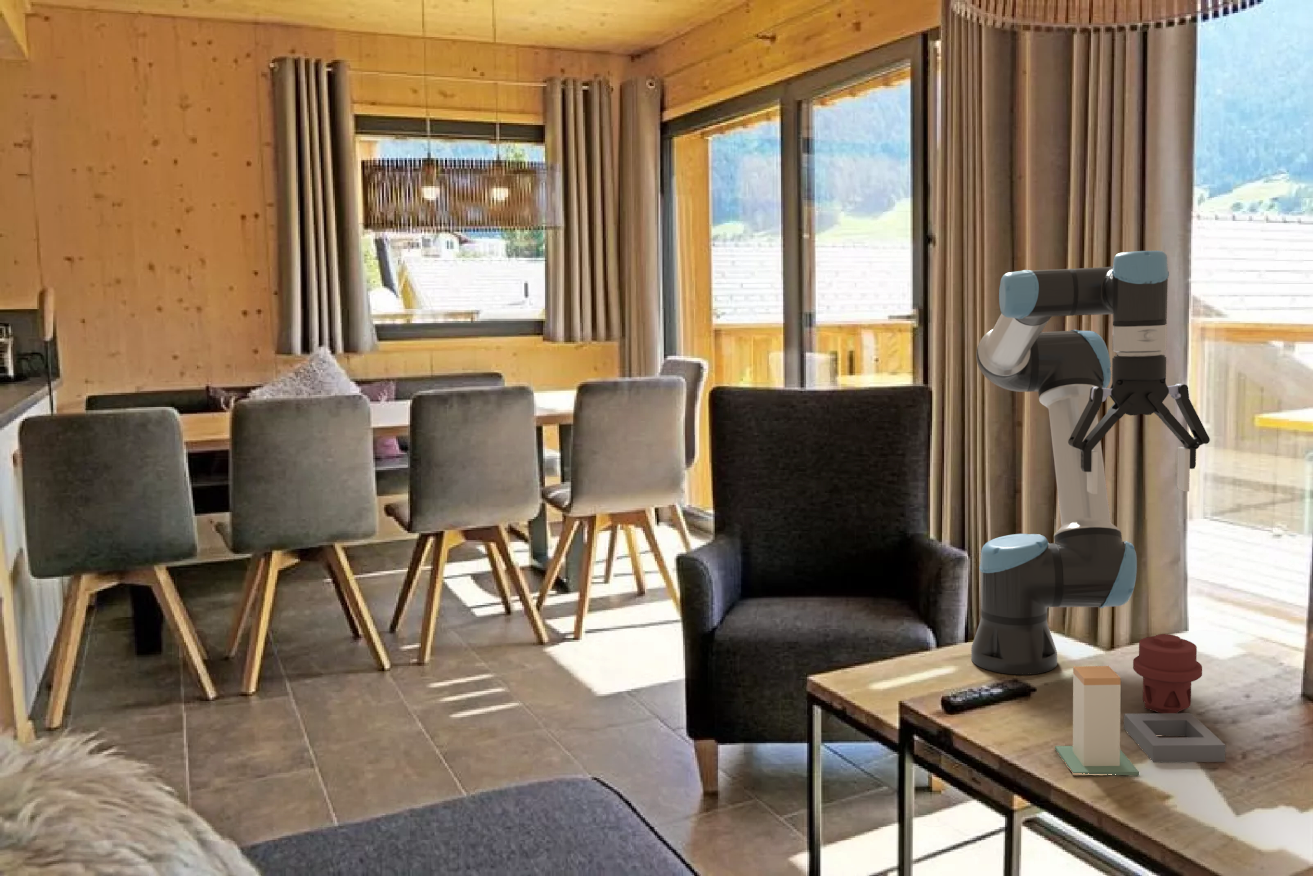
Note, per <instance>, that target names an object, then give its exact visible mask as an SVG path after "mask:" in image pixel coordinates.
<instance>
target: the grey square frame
mask: <svg viewBox="0 0 1313 876" xmlns="http://www.w3.org/2000/svg"><path fill="white" fill-rule="evenodd" d="M1124 729H1125V730H1126V731H1127V732H1128V733H1127V732H1126V731H1125V730H1124ZM1123 730H1124V731H1125V732H1126V733H1127V734H1128V736H1129V735H1130V736H1131V737H1132V738H1133V739H1134V740H1135V741H1136V742H1135V741H1134V740H1133V739H1132V738H1131V737H1130V736H1129V737H1130V738H1131V739H1132V740H1133V741H1134V742H1135V743H1137V744H1139V746H1140V747H1141V748H1140V747H1139V746H1138V747H1139V748H1140V749H1141V750H1142V749H1143V750H1142V751H1143V752H1145V753H1146V754H1147V755H1148V756H1147V755H1146V754H1145V753H1144V754H1145V755H1146V756H1147V757H1148V759H1150V758H1151V759H1150V760H1152V761H1153V762H1152V761H1151V762H1152V763H1205V762H1207V763H1210V762H1213V763H1214V762H1215V763H1220V762H1222V763H1223V762H1226V744H1225V743H1224V742H1223V741H1222V740H1221V739H1220V738H1218V736H1216V735H1215V733H1213V732H1212V731H1211V730H1210V729H1209V728H1208V727H1207V726H1206V725H1204V723H1202V722H1201V721H1200V720H1199V719H1198V718H1197V717H1196V716H1195V714H1192V713H1191V712H1187V713H1185V712H1181V713H1180V712H1177V713H1158V712H1155V713H1123ZM1156 735H1166V736H1165V737H1159V736H1156ZM1167 735H1168V736H1167ZM1169 735H1170V736H1169ZM1137 744H1136V745H1137Z"/></svg>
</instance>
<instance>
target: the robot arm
mask: <svg viewBox="0 0 1313 876" xmlns="http://www.w3.org/2000/svg"><path fill="white" fill-rule="evenodd" d="M1112 263H1113V265H1112V266H1102V267H1085V268H1084V267H1083V268H1082V267H1081V268H1062V269H1059V268H1058V269H1056V268H1055V269H1036V270H1035V269H1033V270H1032V269H1031V270H1030V269H1023V270H1018V271H1011V272H1010V271H1009V272H1006V273H1004V274H1003V275H1002V277H1001V279H1000V285H999V291H998V293H999V294H998V300H999V301H998V302H999V303H998V304H999V308H1000V309H999V310H1000V315H999V317H998V318H997V321H996V323H995V325H994V326H993V328H992V329H991V330H988V332H986V333H985V334H984V335H983V336H982V337H981V339H980V341H979V343H978V346H977V349H976V353H975V355H976V356H975V357H976V359H975V360H976V363H977V366H978V368H979V370H980V372H981V374H982V375H983V376H984V377H985V378H986V379H987V380H988V381H990V382H991V383H992V384H994V385H995V386H997V387H1000V388H1001V389H1003V390H1008V391H1012V392H1020V393H1021V392H1023V393H1024V392H1027V393H1028V392H1038V400H1039V403H1040V404H1041V405H1042V406H1044V407H1045V408H1046V409H1048V415H1049V425H1050V435H1051V443H1052V445H1051V446H1052V451H1053V453H1052V454H1053V460H1054V462H1053V463H1054V472H1055V481H1056V489H1057V498H1058V507H1059V515H1060V516H1059V517H1060V518H1059V519H1060V528H1059V529H1058V530H1057V531H1056V532H1055V533H1054V534H1053V540H1054V542H1052V543H1051V542H1050V543H1049V541H1048V539H1047V537H1045V536H1044V535H1043V534H1042V535H1041V534H1039V533H1038V534H1037V533H1030V534H1028V533H1015V534H1014V533H1013V534H1008V535H1003V536H999V537H996V538H993V539H990V540H988V541H987V542H985V544H983V546H982V548H981V550H980V552H981V553H980V563H979V567H978V569H979V571H980V620H979V624H978V626H977V629H976V633H975V635H974V638H973V642H972V644H971V650H970V651H971V654H970V655H971V656H970V657H971V662H972V663H973V664H975V665H976V666H978V667H980V668H982V669H984V670H987V671H991V672H994V673H995V672H996V673H1000V674H1008V675H1036V674H1042V673H1043V674H1044V673H1046V672H1050V671H1052V670H1054V669H1055V668H1056V667H1057V666H1058V651H1057V648H1056V644H1055V641H1054V639H1053V636H1052V634H1051V633H1052V632H1051V630H1050V628H1049V623H1048V608H1098V609H1104V608H1108V607H1109V608H1110V607H1121V606H1123V605H1125V604H1127V603H1128V602H1129V600H1131V598H1132V596H1133V592H1134V589H1135V585H1136V580H1137V572H1138V568H1137V567H1138V560H1137V559H1138V558H1137V553H1136V550H1135V546H1134V544H1133V543H1131V542H1129V541H1127V540H1125V541H1123V536H1122V531H1121V529H1120V528H1119V527H1117V526H1116V525H1115V524H1113V523H1112V520H1111V514H1110V513H1111V512H1110V507H1109V506H1110V504H1109V496H1108V488H1107V482H1106V474H1105V468H1104V467H1105V466H1104V465H1105V464H1104V458H1103V449H1102V442H1101V441H1102V439H1103V438H1104V437H1105V436H1106V434H1107V433H1108V432H1109V431H1110V430H1111V428H1112V427H1114V425H1116V423H1117V422H1118V421H1119V420H1120V419H1121V418H1122V417H1124V416H1125V415H1127V416H1138V415H1146V416H1152V414H1155V415H1156V416H1157V417H1158V418H1159V420H1160V421H1162V422H1163V424H1165V426H1166V427H1167V428H1168V429H1169V430H1170V432H1171V433H1172V434H1173V435H1174V436H1175V437H1176V438H1177V440H1179V442H1180V443H1182V445H1183V446H1178V447H1177V469H1176V470H1177V473H1176V474H1177V475H1176V477H1177V478H1176V480H1177V481H1176V484H1177V485H1176V488H1177V489H1178V490H1180V491H1182V492H1190V477H1191V475H1190V472H1191V471H1190V470H1193V469H1195V468H1196V465H1197V449H1199V448H1200V446H1202V445H1204V444H1205V445H1207V444H1208V443H1210V441H1211V438H1210V436H1209V434H1208V433H1207V431H1206V428H1205V427H1204V425H1203V422H1202V421H1201V419H1200V417H1199V415H1198V412H1197V411H1196V409H1195V407H1194V405H1193V403H1192V401H1191V399H1190V393H1189V386H1188V385H1187V384H1184V383H1180V382H1176V383H1175V384H1174V385H1167V382H1166V379H1167V356H1166V355H1165V354H1163V352H1165V351H1166V350H1167V329H1168V327H1167V324H1168V323H1167V321H1168V320H1167V319H1168V288H1169V287H1168V281H1169V280H1168V278H1169V276H1170V272H1169V269H1168V268H1169V267H1168V257H1167V254H1166V253H1165V251H1163V250H1139V251H1138V250H1136V251H1124V252H1119V253H1117V254H1116V255H1114V258H1113V261H1112ZM1093 315H1094V316H1095V315H1096V316H1097V315H1112V343H1111V344H1112V345H1111V347H1112V348H1111V350H1112V352H1114V353H1116V354H1115V355H1113V357H1112V361H1111V358H1110V354H1109V351H1108V347H1107V345H1106V342H1105V341H1104V339H1103V337H1102V336H1101V335H1099V333H1097V332H1096V331H1093V330H1078V329H1071V330H1061V331H1060V330H1059V331H1043V330H1044V329H1045V327H1046V326H1047V324H1048V323H1049V321H1050V320H1051V318H1052V317H1069V316H1070V317H1071V316H1072V317H1073V316H1093ZM1111 364H1112V365H1111ZM1111 370H1112V371H1111ZM1111 380H1112V381H1111ZM1110 382H1111V383H1110ZM1110 384H1111V386H1110V388H1109V387H1108V386H1109V385H1110ZM1169 394H1170V397H1171V398H1172V399H1175V402H1176V404H1177V407H1178V408H1179V410H1180V413H1181V414H1182V416H1183V418H1184V420H1185V423H1186V424H1187V426H1188V428H1189V430H1190V432H1191V433H1192V435H1193V436H1192V435H1191V434H1190V433H1189V432H1188V431H1187V429H1186V428H1185V427H1184V426H1183V425H1182V424H1181V423H1180V422H1179V420H1178V419H1177V418H1176V416H1175V415H1173V414H1172V413H1171V411H1170V409H1169V408H1168V406H1166V405H1165V404H1164V403H1163V402H1164V401H1165V400H1166V398H1167V397H1168V396H1169ZM1108 397H1110V399H1111V400H1112V401H1113V404H1112V405H1111V406H1110V407H1109V408H1108V410H1107V411H1106V413H1105V415H1104V416H1103V417H1102V418H1101V419H1100V420H1099V419H1098V418H1099V417H1098V412H1099V410H1100V408H1101V407H1102V403H1103V402H1105V401H1106V400H1107V398H1108Z"/></svg>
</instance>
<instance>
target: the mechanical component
mask: <svg viewBox="0 0 1313 876" xmlns="http://www.w3.org/2000/svg"><path fill="white" fill-rule="evenodd" d="M1197 649H1198V647H1197V645H1196V644H1195V643H1194V642H1191V641H1189V640H1188V639H1184V638H1181V637H1180V636H1178V635H1176V634H1175V635H1174V634H1171V633H1170V634H1169V633H1168V634H1167V633H1162V634H1161V633H1160V634H1155V635H1153V636H1147V637H1144V638H1141V639H1140V640H1139V641H1138V655H1137V656H1136V657H1134V658H1133V659H1132V669H1133V671H1134V672H1135V673H1136V674H1137V675H1139V676H1141V677H1142V700H1143V702H1144V708H1145V709H1147V710H1149V709H1151V710H1150V711H1153V712H1155V713H1180V712H1181V711H1183V710H1186V709H1188V708H1190V707H1192V706H1191V705H1192V704H1191V703H1192V682H1195V681H1197V680H1198V679H1200V678H1201V677H1202V676H1203V666H1202V664H1201V663H1200V662H1199V661H1197V656H1198V655H1197V652H1198V650H1197Z"/></svg>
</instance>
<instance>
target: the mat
mask: <svg viewBox="0 0 1313 876" xmlns="http://www.w3.org/2000/svg"><path fill="white" fill-rule="evenodd" d="M1055 749H1056V751H1057V752H1058V753H1059V755H1060V756H1061V758H1062V759H1063V760H1064V762H1066V764H1067V766H1068V767H1069V768H1070V769H1071V771H1072V772H1073V773H1082V774H1083V773H1085V774H1088V773H1089V774H1107V775H1108V774H1112V775H1115V774H1116V775H1139V776H1140V771H1139V770H1138V768H1137V767H1136V766H1135V765H1134V764H1133V763H1132V761H1131V760H1130V759H1129V758H1128V757H1127V756H1126V754H1125V753H1124V752H1123V751H1122V750H1121V749H1120V766H1083V765H1082V763H1081V762H1080V761H1079V759H1078V758H1077V756H1076V755H1075V754H1074V752H1073V745H1054V750H1055ZM1056 751H1055V752H1056ZM1057 752H1056V753H1057ZM1059 755H1058V756H1059ZM1060 756H1059V757H1060ZM1061 758H1060V759H1061ZM1062 759H1061V760H1062ZM1064 762H1063V763H1064Z"/></svg>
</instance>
